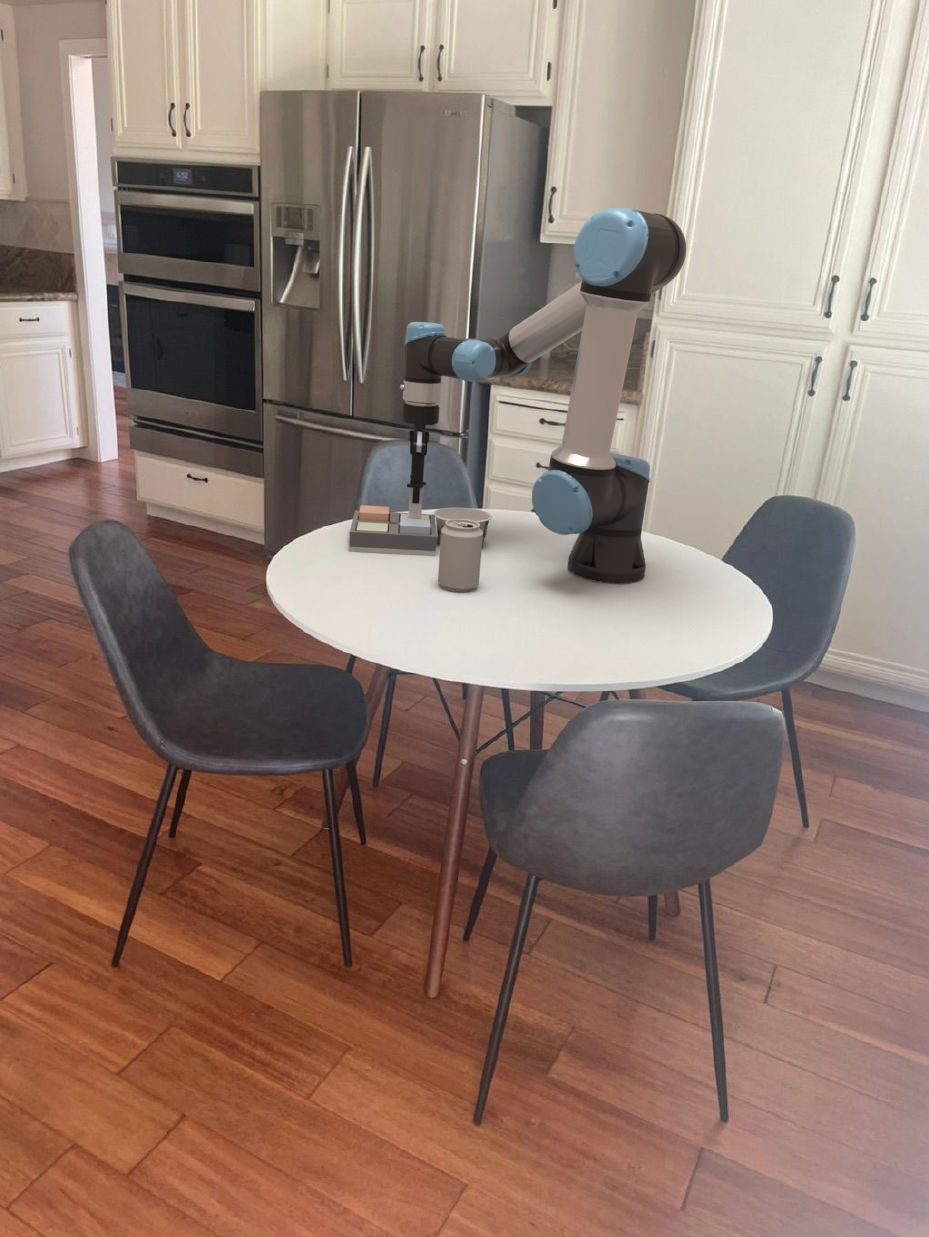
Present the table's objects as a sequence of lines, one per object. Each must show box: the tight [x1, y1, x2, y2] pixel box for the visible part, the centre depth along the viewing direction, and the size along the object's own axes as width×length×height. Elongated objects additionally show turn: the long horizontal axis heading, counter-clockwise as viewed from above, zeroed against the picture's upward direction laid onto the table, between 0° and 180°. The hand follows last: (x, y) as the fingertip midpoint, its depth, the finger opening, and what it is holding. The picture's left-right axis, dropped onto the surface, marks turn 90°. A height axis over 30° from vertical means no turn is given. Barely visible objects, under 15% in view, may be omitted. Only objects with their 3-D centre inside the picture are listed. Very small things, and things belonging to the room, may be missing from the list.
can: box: [437, 519, 483, 593], centre depth 168 cm, size 8×8×12 cm
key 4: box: [401, 514, 430, 519], centre depth 197 cm, size 6×6×2 cm
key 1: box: [357, 522, 388, 533], centre depth 189 cm, size 6×6×2 cm
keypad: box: [348, 510, 437, 557], centre depth 194 cm, size 17×17×4 cm
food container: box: [433, 506, 493, 548], centre depth 195 cm, size 12×12×6 cm
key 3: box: [400, 518, 430, 535], centre depth 189 cm, size 6×6×2 cm
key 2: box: [358, 504, 390, 521], centre depth 196 cm, size 6×6×2 cm
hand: (414, 517), depth 197 cm, fingers closed
